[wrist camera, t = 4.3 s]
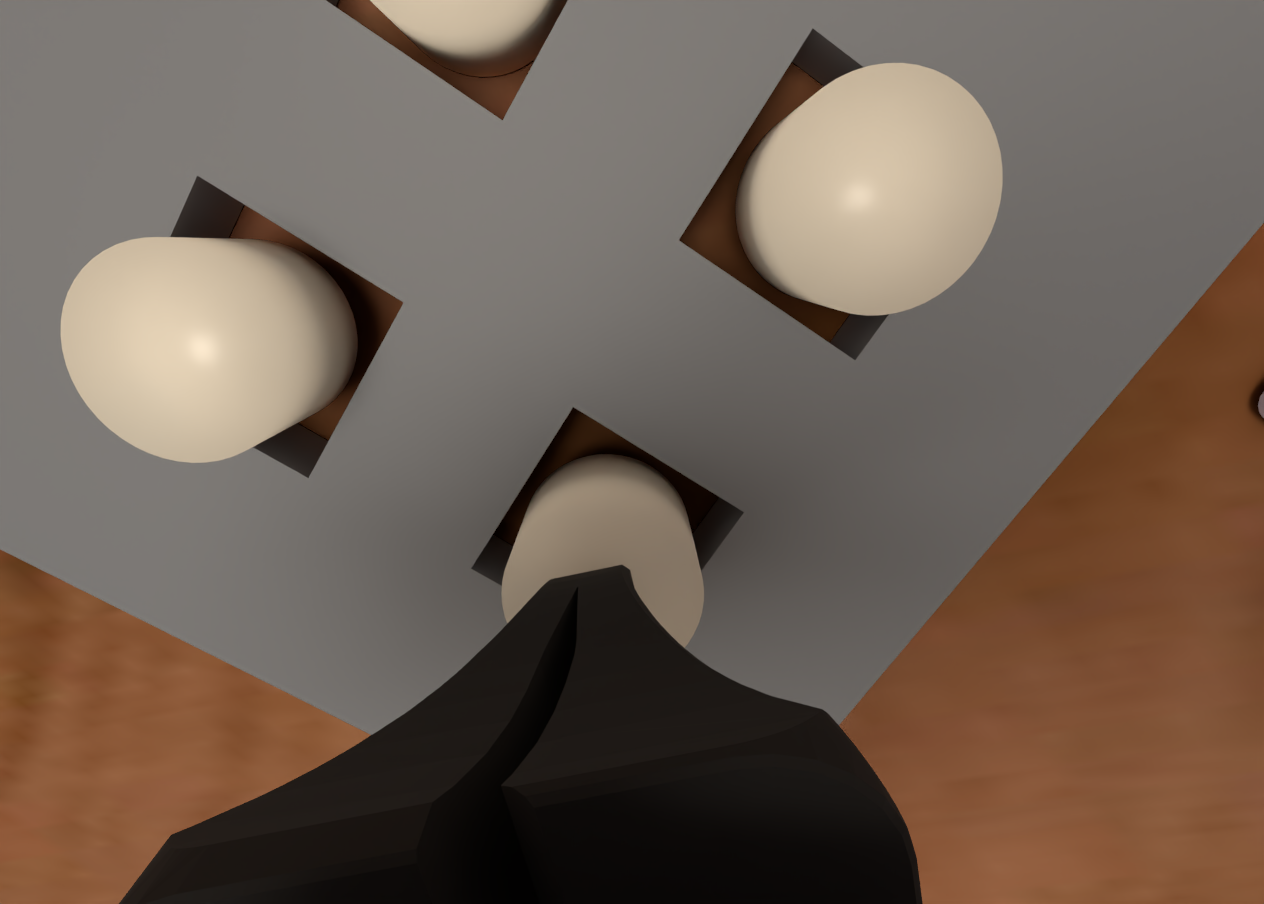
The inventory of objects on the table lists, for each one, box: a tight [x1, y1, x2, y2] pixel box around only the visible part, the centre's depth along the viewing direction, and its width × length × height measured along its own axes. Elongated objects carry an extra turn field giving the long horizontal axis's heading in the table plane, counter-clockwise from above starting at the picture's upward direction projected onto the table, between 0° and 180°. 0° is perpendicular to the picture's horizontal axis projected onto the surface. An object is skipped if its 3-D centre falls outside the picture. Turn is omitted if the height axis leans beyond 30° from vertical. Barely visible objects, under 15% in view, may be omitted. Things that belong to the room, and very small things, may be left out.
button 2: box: [501, 454, 704, 648], centre depth 14 cm, size 4×4×3 cm
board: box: [0, 0, 1264, 735], centre depth 14 cm, size 22×22×2 cm
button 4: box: [61, 237, 358, 463], centre depth 13 cm, size 4×4×3 cm
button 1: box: [735, 63, 1003, 316], centre depth 12 cm, size 4×4×3 cm
